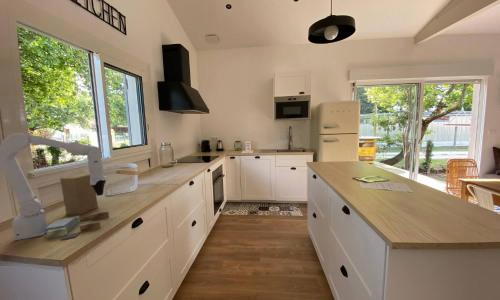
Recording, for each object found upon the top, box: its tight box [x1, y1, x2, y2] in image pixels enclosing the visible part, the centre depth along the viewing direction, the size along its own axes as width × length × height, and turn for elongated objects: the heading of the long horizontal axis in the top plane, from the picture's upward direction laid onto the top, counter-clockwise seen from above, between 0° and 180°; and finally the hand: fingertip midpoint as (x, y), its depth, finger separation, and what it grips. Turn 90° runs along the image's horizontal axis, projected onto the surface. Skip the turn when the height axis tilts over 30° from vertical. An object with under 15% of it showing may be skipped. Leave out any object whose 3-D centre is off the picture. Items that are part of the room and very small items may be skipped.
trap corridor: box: [47, 210, 110, 241], centre depth 91 cm, size 18×22×3 cm
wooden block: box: [59, 173, 99, 216], centre depth 110 cm, size 10×10×20 cm
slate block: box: [45, 217, 77, 238], centre depth 89 cm, size 7×8×4 cm
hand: (100, 195), depth 103 cm, fingers closed
